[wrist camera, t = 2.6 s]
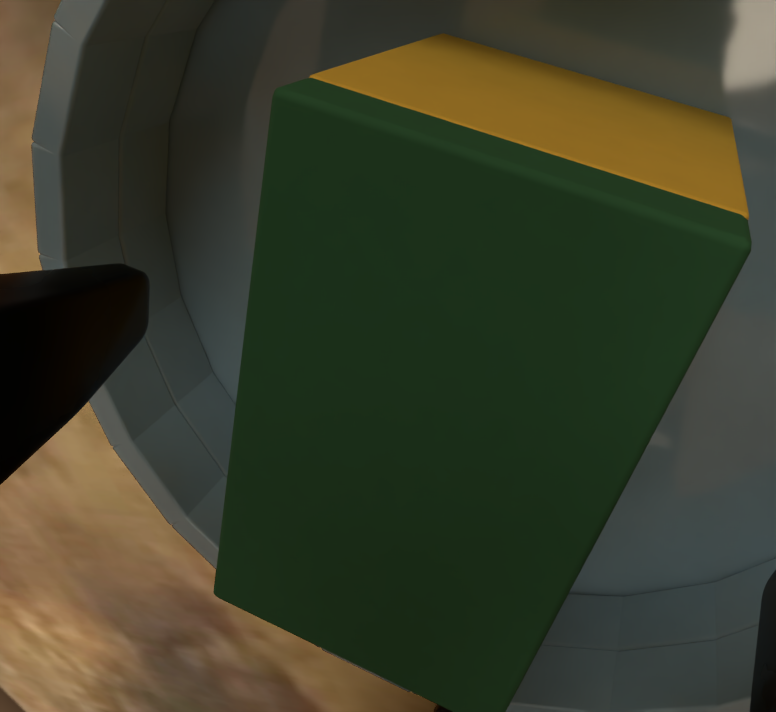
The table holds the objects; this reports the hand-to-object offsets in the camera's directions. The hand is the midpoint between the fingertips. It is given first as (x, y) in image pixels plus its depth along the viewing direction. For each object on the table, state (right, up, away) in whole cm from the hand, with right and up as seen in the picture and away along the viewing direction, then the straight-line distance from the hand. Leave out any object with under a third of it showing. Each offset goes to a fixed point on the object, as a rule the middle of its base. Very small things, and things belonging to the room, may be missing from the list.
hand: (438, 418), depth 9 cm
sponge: (+1, +2, +3) cm, 4 cm away
